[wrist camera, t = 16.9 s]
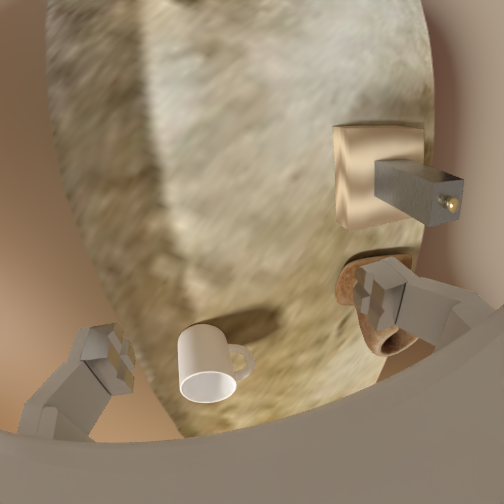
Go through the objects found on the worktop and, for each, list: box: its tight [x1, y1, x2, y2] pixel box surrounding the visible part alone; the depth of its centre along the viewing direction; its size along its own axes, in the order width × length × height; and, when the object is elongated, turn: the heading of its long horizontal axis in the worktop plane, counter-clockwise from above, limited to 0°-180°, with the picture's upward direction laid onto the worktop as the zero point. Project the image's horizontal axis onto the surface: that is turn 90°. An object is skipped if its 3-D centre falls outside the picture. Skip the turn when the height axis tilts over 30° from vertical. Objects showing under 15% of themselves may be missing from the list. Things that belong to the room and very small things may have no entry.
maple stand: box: [333, 126, 424, 231], centre depth 36 cm, size 14×14×4 cm
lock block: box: [374, 159, 464, 227], centre depth 29 cm, size 5×6×12 cm
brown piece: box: [335, 254, 419, 357], centre depth 41 cm, size 15×12×15 cm
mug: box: [178, 324, 255, 403], centre depth 41 cm, size 12×8×10 cm
